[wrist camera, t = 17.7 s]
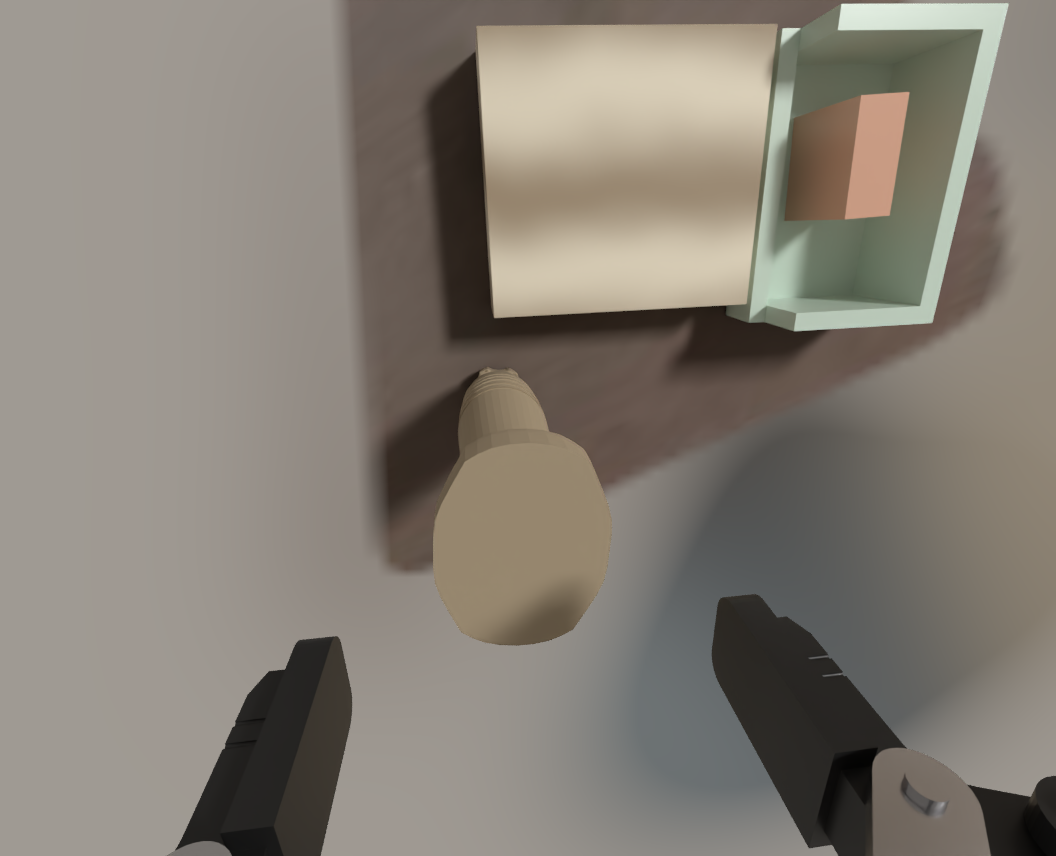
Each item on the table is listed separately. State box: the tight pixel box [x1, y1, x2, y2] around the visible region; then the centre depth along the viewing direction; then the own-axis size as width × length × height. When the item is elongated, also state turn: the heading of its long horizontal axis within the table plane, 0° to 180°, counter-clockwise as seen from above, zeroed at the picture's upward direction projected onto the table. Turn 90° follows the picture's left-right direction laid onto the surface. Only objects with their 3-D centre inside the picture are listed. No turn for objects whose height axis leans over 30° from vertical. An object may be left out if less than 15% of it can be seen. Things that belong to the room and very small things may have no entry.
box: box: [726, 3, 1008, 331], centre depth 24 cm, size 12×8×5 cm, turn 2°
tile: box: [784, 92, 910, 221], centre depth 23 cm, size 4×4×2 cm
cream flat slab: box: [476, 24, 778, 318], centre depth 24 cm, size 11×12×3 cm
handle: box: [433, 367, 612, 645], centre depth 21 cm, size 5×6×15 cm
